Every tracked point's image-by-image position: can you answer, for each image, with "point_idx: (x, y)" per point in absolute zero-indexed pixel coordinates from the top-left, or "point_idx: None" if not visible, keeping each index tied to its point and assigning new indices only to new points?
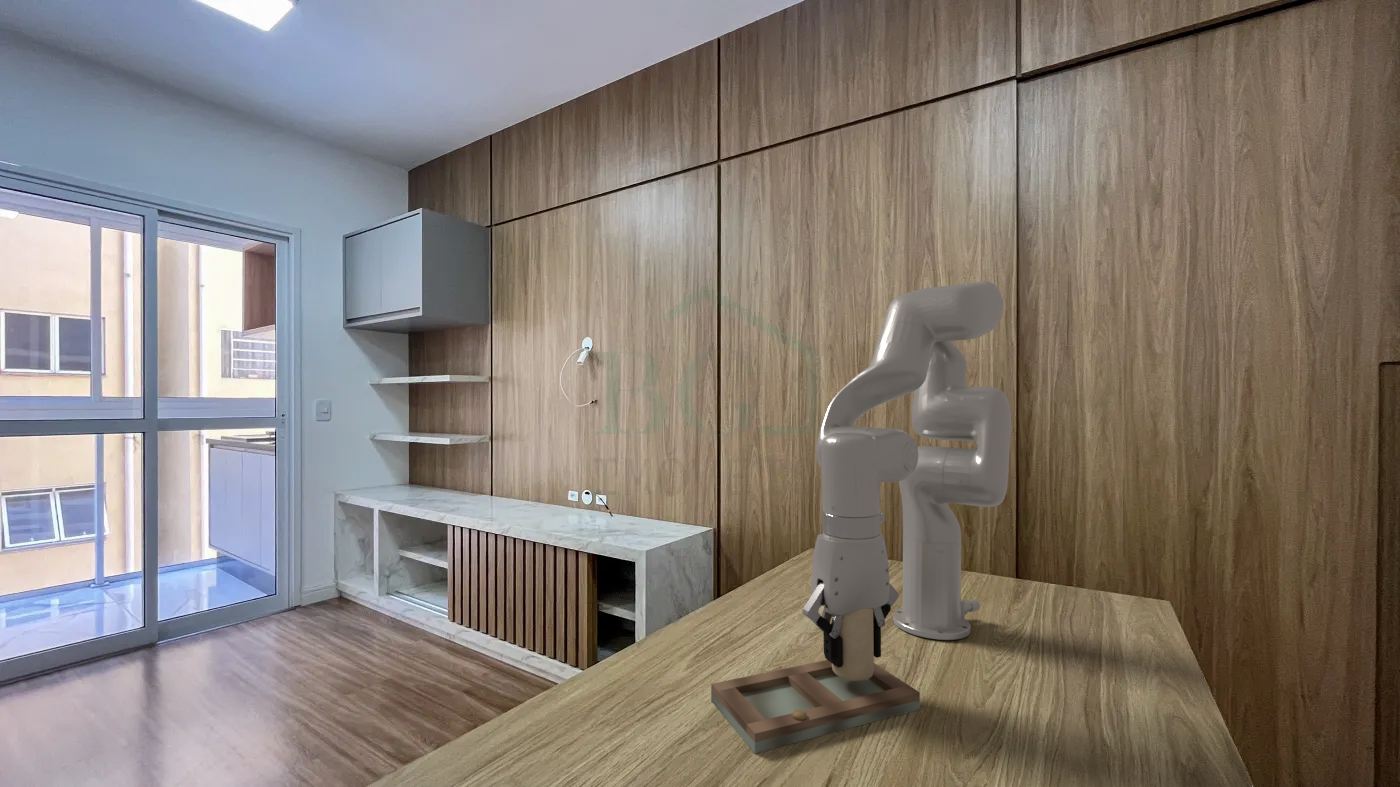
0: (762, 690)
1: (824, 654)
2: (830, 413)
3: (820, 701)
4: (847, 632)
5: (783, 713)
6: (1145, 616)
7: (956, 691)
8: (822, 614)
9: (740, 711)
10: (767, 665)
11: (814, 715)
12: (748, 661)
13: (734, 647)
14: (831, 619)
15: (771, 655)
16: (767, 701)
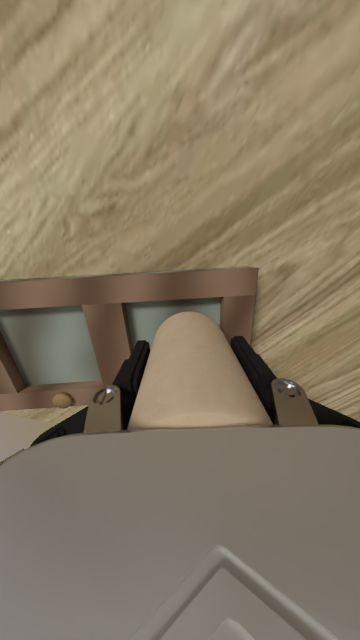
0: (38, 308)
1: (126, 359)
2: None
3: (105, 379)
4: None
5: (57, 366)
6: None
7: (311, 361)
8: (84, 432)
9: None
10: (88, 190)
11: (84, 400)
12: (49, 152)
13: (23, 35)
14: (134, 406)
15: (111, 140)
16: (40, 337)
